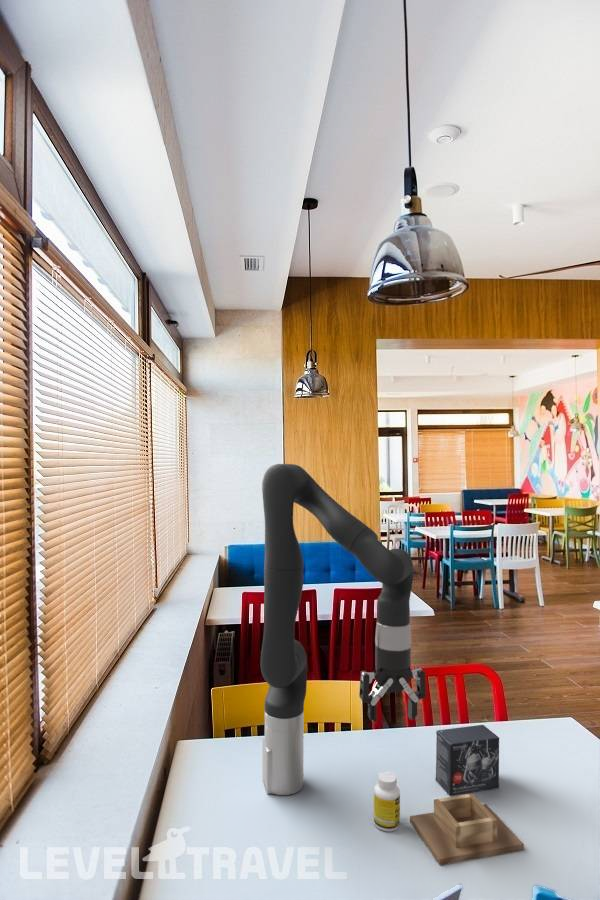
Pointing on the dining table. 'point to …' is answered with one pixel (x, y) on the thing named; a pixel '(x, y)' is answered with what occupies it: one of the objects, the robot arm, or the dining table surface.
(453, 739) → the small box
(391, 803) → the supplement bottle
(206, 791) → the dining table surface
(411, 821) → the holder stand
